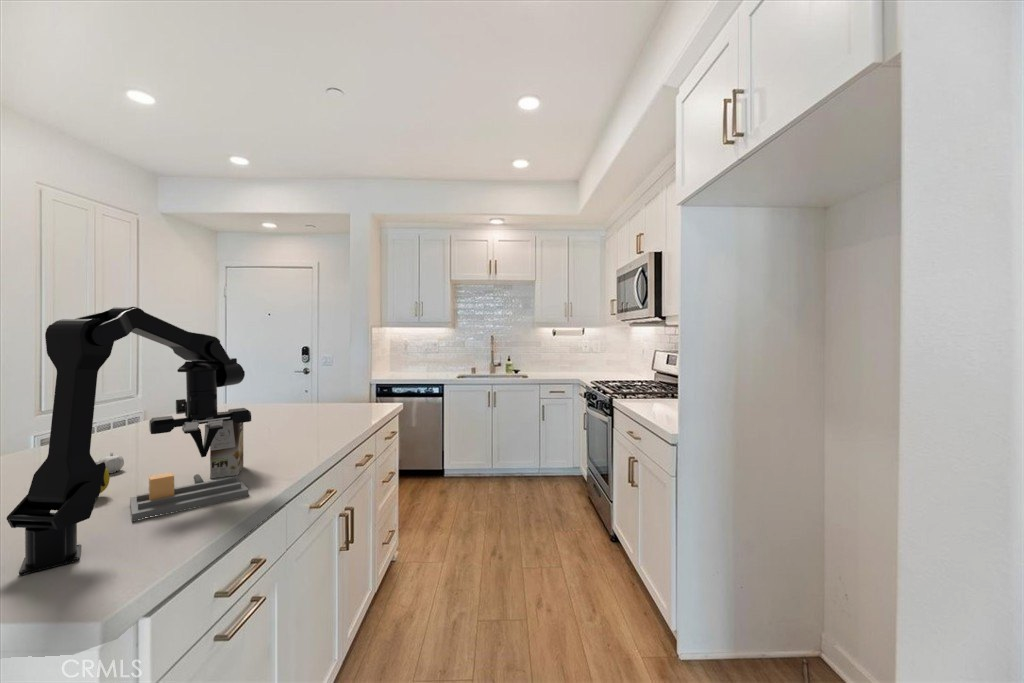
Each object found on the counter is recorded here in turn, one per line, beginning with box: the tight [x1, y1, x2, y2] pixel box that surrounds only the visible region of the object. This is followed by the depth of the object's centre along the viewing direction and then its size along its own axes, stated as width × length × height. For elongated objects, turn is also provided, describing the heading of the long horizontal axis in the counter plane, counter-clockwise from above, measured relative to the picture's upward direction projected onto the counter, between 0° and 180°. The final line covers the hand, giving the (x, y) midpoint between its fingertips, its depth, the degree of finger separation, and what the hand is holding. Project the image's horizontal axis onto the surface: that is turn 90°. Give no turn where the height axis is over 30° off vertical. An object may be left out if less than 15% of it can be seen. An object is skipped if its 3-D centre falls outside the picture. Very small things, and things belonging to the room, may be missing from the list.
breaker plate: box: [129, 476, 250, 522], centre depth 95 cm, size 12×20×2 cm, turn 133°
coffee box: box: [209, 410, 244, 479], centre depth 115 cm, size 9×6×16 cm
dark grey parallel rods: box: [193, 473, 205, 484], centre depth 103 cm, size 11×7×1 cm
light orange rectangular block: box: [148, 471, 175, 500], centre depth 92 cm, size 3×4×5 cm
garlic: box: [98, 452, 125, 474], centre depth 115 cm, size 6×5×5 cm
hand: (203, 456), depth 99 cm, fingers closed
